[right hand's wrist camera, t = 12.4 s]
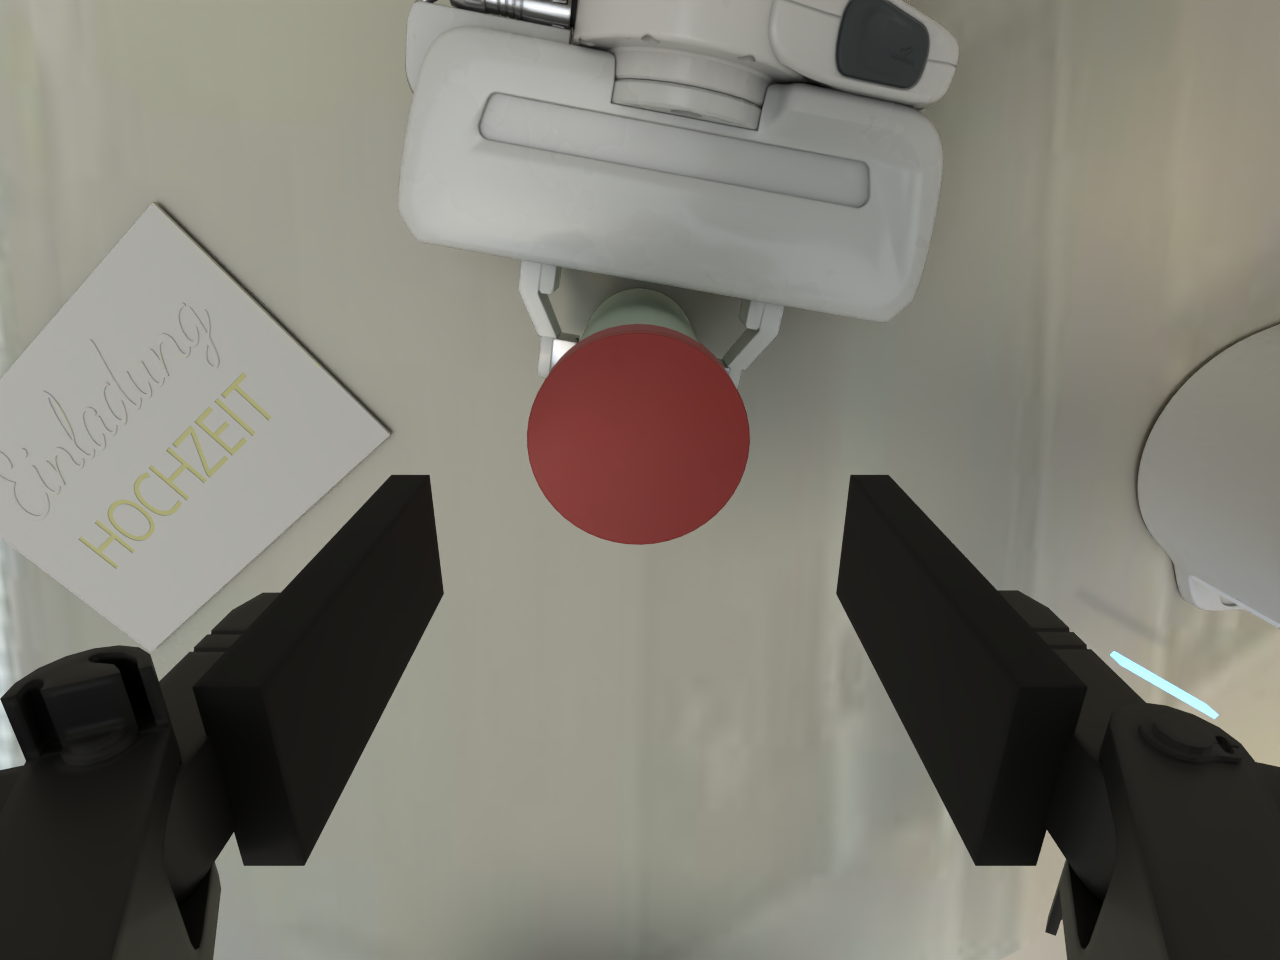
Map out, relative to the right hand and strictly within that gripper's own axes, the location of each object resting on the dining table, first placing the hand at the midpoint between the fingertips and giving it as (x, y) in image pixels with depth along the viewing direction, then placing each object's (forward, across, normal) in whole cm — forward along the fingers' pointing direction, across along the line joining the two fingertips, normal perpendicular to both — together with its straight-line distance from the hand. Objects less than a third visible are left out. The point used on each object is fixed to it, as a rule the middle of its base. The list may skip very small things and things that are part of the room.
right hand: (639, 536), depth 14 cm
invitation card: (+23, -26, -6) cm, 35 cm away
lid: (+7, 0, 0) cm, 7 cm away
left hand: (+16, 0, -1) cm, 16 cm away
